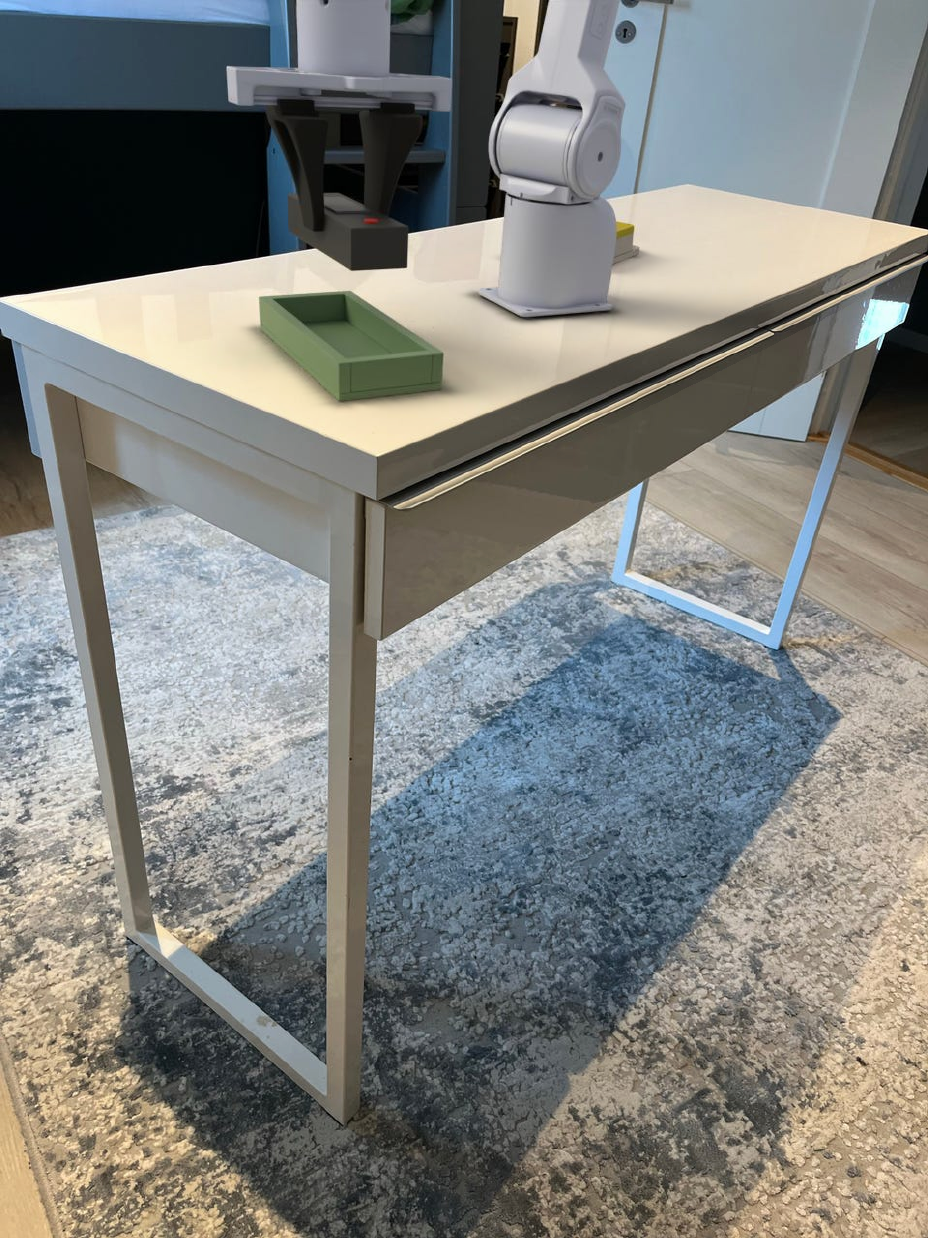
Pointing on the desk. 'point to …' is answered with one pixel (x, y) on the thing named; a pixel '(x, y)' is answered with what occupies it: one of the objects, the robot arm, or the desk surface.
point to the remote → (353, 234)
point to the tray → (350, 345)
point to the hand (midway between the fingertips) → (344, 227)
